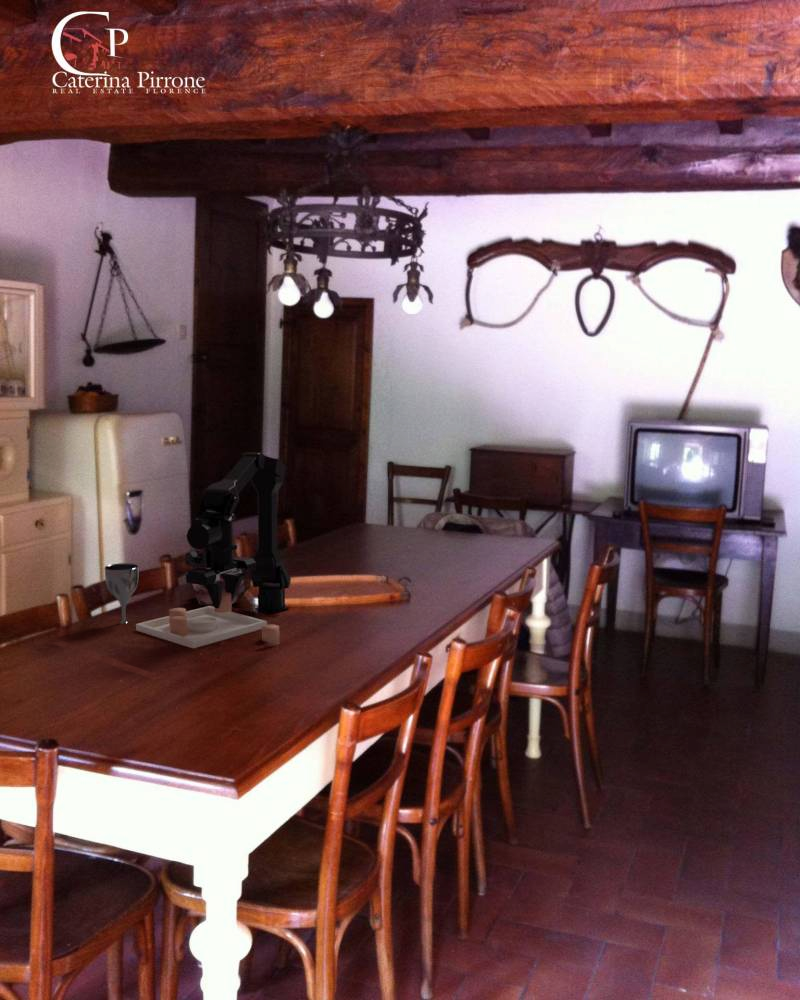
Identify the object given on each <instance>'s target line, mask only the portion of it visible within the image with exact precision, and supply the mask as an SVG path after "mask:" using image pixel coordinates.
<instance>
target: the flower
mask: <svg viewBox="0 0 800 1000" xmlns="http://www.w3.org/2000/svg"><path fill="white" fill-rule="evenodd" d="M205 569H210V568H205ZM217 572H218V571H217ZM220 581H224V580H223V578H222V576H221V575H220ZM191 585H192V587H193V590H194V591H196V592H197V593H195V594H194V595H195V597H196V600H197V603H198V605H199V606H212V607H214V605H213V603H212V600H211V598H210V595H209V593H208V591H207V589H206V587H205V586H204V585H198V584H191ZM250 588H251V581H250V579H249V578H246V579H245V580H244V579H243V580H242V582H241V584H240V586H239V588H238V590H237V592H236V594H235V597H234V599H233V601H232V603H231V606H232V605H233V604H234V603H236V602H237V600H238V603H239V602H240V600H241V598H242V596H243V595H244V594H245V593H246V592H247V591H248V590H249V589H250ZM222 592H225V582H224V585H223V591H222ZM238 595H239V596H238Z"/></svg>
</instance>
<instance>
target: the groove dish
mask: <svg viewBox="0 0 800 1000" xmlns="http://www.w3.org/2000/svg"><path fill="white" fill-rule="evenodd" d="M186 617H187V631H188V635H187V636H184V637H183V636H179V635H176V634H173V633H170V622H169V615H168V616H167V615H166V616H163V617H159V618H154V619H150V620H147V621H143V622H138V623H136V624H135V630H136V631H137V632H140V633H143V634H147V635H149V636H152V637H156V638H159V639H162V640H165V641H169V642H172V643H175V644H178V645H181V646H184V647H188V648H191V649H196V648H199V647H204V646H207V645H210V644H211V645H212V644H215V643H217V642H221V641H225V640H228V639H232V638H235V637H238V636H243V635H246V634H249V633H253V632H257V631H259V630H262V626H264V625H268V620H264V619H260V618H257V617H253V616H249V615H245V614H241V613H238V612H235V611H234V612H233V611H232V610H231V611H230V612H225V613H218V612H215V611H214V606H213V605H206V606H204V607H199V608H196V609H191V610H188V611H187V610H186Z"/></svg>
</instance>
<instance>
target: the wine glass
mask: <svg viewBox="0 0 800 1000" xmlns="http://www.w3.org/2000/svg"><path fill="white" fill-rule="evenodd" d="M139 568H140V567H139V565H138V564H136V563H134V562H133V563H132V562H123V563H112V564H108V565H106V566H105V567H104V577H105V584H106V587H107V589H108V591H109V592H110V594H111V595H113V597H115V598H116V600H118V603H119V605H120V608H121V616H122V618H121V621H120V624H122V625H123V624H125V625H126V624H128V623H129V621H127V620H126V619H127V618H126V617H127V615H126V610H127V603H128V601H129V599H130V598H131V597H132V596H133V594H134V592H135V591H136V589H137V588H138V583H139V575H140V574H139V572H140V571H139Z"/></svg>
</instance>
